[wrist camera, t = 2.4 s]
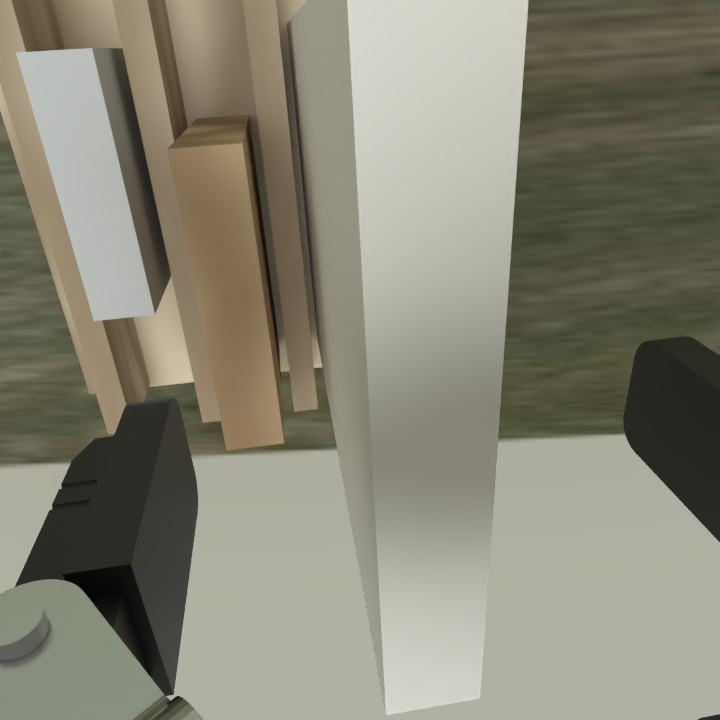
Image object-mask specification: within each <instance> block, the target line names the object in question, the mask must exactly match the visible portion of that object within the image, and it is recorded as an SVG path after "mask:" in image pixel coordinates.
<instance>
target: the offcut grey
mask: <svg viewBox="0 0 720 720" xmlns="http://www.w3.org/2000/svg"><path fill="white" fill-rule="evenodd" d="M16 55H17V58H18V62H19V65H20V68H21V72H22V75H23V79H24V82H25V86H26V89H27V92H28V96H29V99H30V103H31V106H32V110H33V113H34V117H35V120H36V123H37V127H38V130H39V134H40V137H41V141H42V144H43V147H44V151H45V154H46V158H47V161H48V165H49V168H50V172H51V175H52V178H53V182H54V185H55V189H56V192H57V196H58V199H59V202H60V206H61V209H62V213H63V216H64V220H65V223H66V227H67V230H68V233H69V237H70V240H71V244H72V247H73V251H74V254H75V258H76V261H77V264H78V268H79V271H80V275H81V278H82V282H83V285H84V288H85V292H86V295H87V299H88V302H89V306H90V309H91V313H92V316H93V319H94V321H100V320H110V319H119V318H129V317H139V316H148V315H155V314H156V311H157V309H158V306H159V304H160V302H161V299H162V297H163V294H164V292H165V289H166V287H167V285H168V282H169V280H170V277H171V272H170V267H169V263H168V258H167V253H166V249H165V244H164V239H163V235H162V230H161V225H160V221H159V216H158V211H157V207H156V202H155V198H154V193H153V188H152V184H151V179H150V174H149V170H148V165H147V160H146V156H145V151H144V146H143V142H142V137H141V132H140V128H139V123H138V118H137V114H136V109H135V104H134V100H133V95H132V90H131V86H130V81H129V76H128V72H127V67H126V63H125V58H124V53H123V49H122V48H85V49H68V50H50V51H33V52H16Z"/></svg>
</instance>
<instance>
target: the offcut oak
mask: <svg viewBox="0 0 720 720" xmlns="http://www.w3.org/2000/svg"><path fill="white" fill-rule="evenodd" d="M167 151H168V156H169V161H170V166H171V171H172V176H173V181H174V186H175V191H176V196H177V201H178V206H179V211H180V216H181V222H182V227H183V232H184V237H185V242H186V247H187V252H188V257H189V262H190V267H191V272H192V277H193V282H194V287H195V293H196V298H197V303H198V308H199V313H200V318H201V323H202V328H203V333H204V338H205V343H206V348H207V353H208V358H209V363H210V369H211V374H212V379H213V384H214V389H215V394H216V399H217V404H218V409H219V414H220V419H221V424H222V429H223V434H224V440H225V445H226V450H234V449H242V448H250V447H258V446H266V445H274V444H281V443H284V429H283V409H282V390H281V370H280V350H279V339H278V331H277V324H276V316H275V308H274V301H273V293H272V286H271V278H270V270H269V263H268V255H267V248H266V240H265V232H264V225H263V217H262V210H261V202H260V194H259V187H258V179H257V172H256V164H255V156H254V149H253V141H252V134H251V126H250V118H249V115H241V116H227V117H213V118H198V119H196V120H195V121H194V122H193V123H192V124H191V125H190V126H189V127H188V128H187V129H186V130H185V131H184V132H183V133H182V134H181V135H180V136H179V137H178V139H177V140H176V141H175V142H174V143H173V144H172V145H171V146H170V147H169V148H168V149H167Z"/></svg>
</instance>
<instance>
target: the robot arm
mask: <svg viewBox="0 0 720 720" xmlns="http://www.w3.org/2000/svg"><path fill="white" fill-rule="evenodd" d="M624 430H625V434H626V437H627V440H628V442H629V444H630V446H631V448H632V449H633V450H634V451H635V453H636V454H637V455H638V456H639V457H640V458H641V459H642V460H643V461H644V462H645V463H646V464H647V465H648V466H649V467H650V469H651V470H652V471H653V472H654V473H655V474H656V475H657V476H658V477H659V478H660V479H661V480H662V481H663V482H664V484H665V485H666V486H668V488H669V489H670V490H671V491H672V492H673V493H674V494H675V495H676V496H677V497H678V498H679V499H680V501H682V503H683V504H684V505H685V506H686V507H687V508H688V509H689V510H690V511H691V512H692V513H693V514H694V515H695V516H696V518H697V519H698V520H699V521H700V522H701V523H702V524H703V525H704V526H705V527H706V528H707V529H708V530H709V531H710V532H711V533H712V535H713V536H714V537H715V538H716V539H717V540H718V541H719V542H720V356H719V355H718V354H716V353H715V352H713V351H712V350H710V349H709V348H707V347H706V346H704V345H703V344H701V343H700V342H698V341H697V340H695V339H693V338H691V337H677V338H669V339H661V340H652V341H646V342H643V343H642V344H641V345H640V346H639V347H638V349H637V351H636V354H635V358H634V364H633V369H632V374H631V380H630V385H629V391H628V396H627V401H626V407H625V412H624ZM61 485H62V489H59V491H58V493H57V495H56V498H55V500H54V502H53V504H52V507H53V509H52V510H50V511H49V513H48V515H47V518H46V520H45V522H44V524H43V526H42V528H41V531H40V533H39V535H38V537H37V539H36V542H35V544H34V546H33V548H32V550H31V553H30V555H29V557H28V559H27V562H26V564H25V566H24V568H23V570H22V572H21V575H20V577H19V579H18V581H17V583H16V586H15V587H14V588H12V589H9V590H7V591H5V592H4V593H1V594H0V720H203V718H202V717H201V716H200V715H199V714H198V712H197V711H196V710H195V709H194V708H193V707H192V706H191V705H190V704H189V703H188V702H187V701H186V700H185V699H183V698H182V697H180V696H177V697H175V698H174V699H173V700H171V701H170V700H169V699H168V698H167V697H166V696H168V695H173V694H174V687H175V680H176V672H177V664H178V657H179V649H180V641H181V634H182V625H183V618H184V611H185V603H186V596H187V588H188V580H189V572H190V565H191V557H192V550H193V542H194V535H195V527H196V519H197V512H198V492H197V482H196V476H195V471H194V467H193V463H192V458H191V454H190V450H189V445H188V441H187V437H186V433H185V428H184V424H183V420H182V416H181V411H180V408H179V405H178V402H177V401H176V399H175V398H171V399H163V400H155V401H146V402H138V403H130V404H127V405H126V406H125V408H124V411H123V413H122V416H121V419H120V421H119V424H118V427H117V429H116V432H115V435H114V436H113V437H105V438H97V439H94V440H93V441H92V442H91V443H90V444H89V445H88V446H87V447H86V448H85V449H84V450H83V451H82V452H81V453H80V454H79V455H78V456H77V457H76V458H74V459H73V460H72V462H71V464H70V467H69V469H68V471H67V474H66V476H65V478H64V480H63V482H62V484H61ZM698 720H720V714H719V715H714V716H709V717H704V718H700V719H698Z"/></svg>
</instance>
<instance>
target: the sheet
mask: <svg viewBox="0 0 720 720" xmlns="http://www.w3.org/2000/svg"><path fill="white" fill-rule="evenodd" d="M527 13H528V0H307V1H306V2H305V3H304V4H303V6H302V7H301V8H300V9H299V10H298V11H297V13H296V14H295V15H294V16H293V17H292V18H291V19H290V21H289V22H288V23H287V34H288V44H289V54H290V64H291V75H292V85H293V95H294V105H295V116H296V126H297V136H298V147H299V157H300V167H301V177H302V188H303V198H304V208H305V218H306V229H307V239H308V249H309V260H310V270H311V280H312V290H313V301H314V311H315V321H316V332H317V341H318V346H319V352H320V357H321V363H322V368H323V374H324V379H325V384H326V390H327V395H328V401H329V406H330V412H331V417H332V423H333V428H334V434H335V439H336V445H337V450H338V455H339V461H340V466H341V471H342V477H343V482H344V488H345V494H346V498H347V505H348V510H349V516H350V521H351V526H352V532H353V537H354V542H355V548H356V554H357V559H358V564H359V570H360V576H361V581H362V587H363V592H364V597H365V603H366V608H367V614H368V619H369V624H370V630H371V635H372V641H373V647H374V652H375V658H376V663H377V668H378V674H379V679H380V684H381V690H382V696H383V701H384V706H385V712H386V715H389V714H395V713H401V712H406V711H412V710H417V709H423V708H429V707H434V706H440V705H446V704H451V703H457V702H462V701H468V700H474V699H479V698H480V690H481V676H482V662H483V648H484V633H485V618H486V604H487V590H488V575H489V561H490V547H491V531H492V517H493V503H494V489H495V474H496V460H497V445H498V431H499V417H500V403H501V388H502V374H503V359H504V345H505V330H506V316H507V302H508V287H509V273H510V258H511V244H512V229H513V215H514V201H515V186H516V172H517V157H518V143H519V128H520V114H521V99H522V85H523V71H524V56H525V42H526V27H527Z"/></svg>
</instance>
